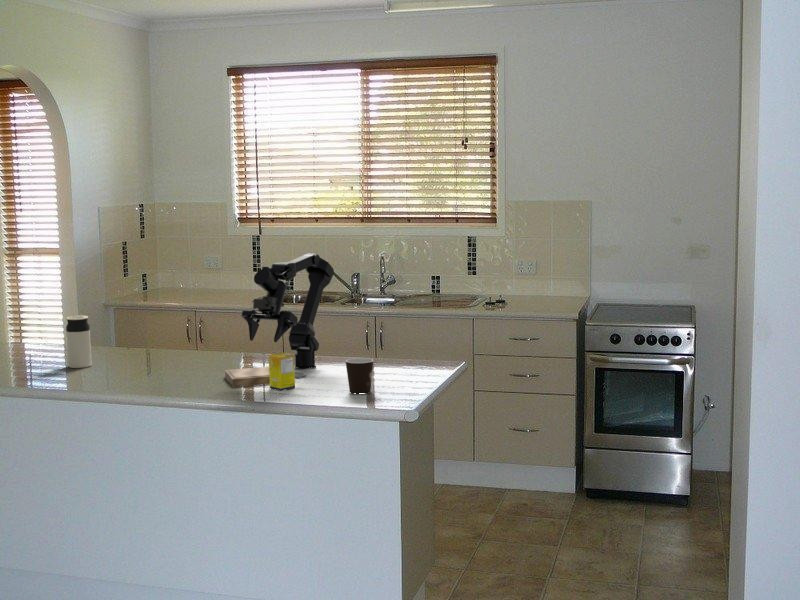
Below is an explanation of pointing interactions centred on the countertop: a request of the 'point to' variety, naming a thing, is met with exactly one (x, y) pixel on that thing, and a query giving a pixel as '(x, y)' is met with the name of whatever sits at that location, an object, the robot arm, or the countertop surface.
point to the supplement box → (281, 371)
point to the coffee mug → (359, 374)
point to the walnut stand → (248, 376)
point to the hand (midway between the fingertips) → (262, 341)
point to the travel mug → (78, 342)
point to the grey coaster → (299, 374)
